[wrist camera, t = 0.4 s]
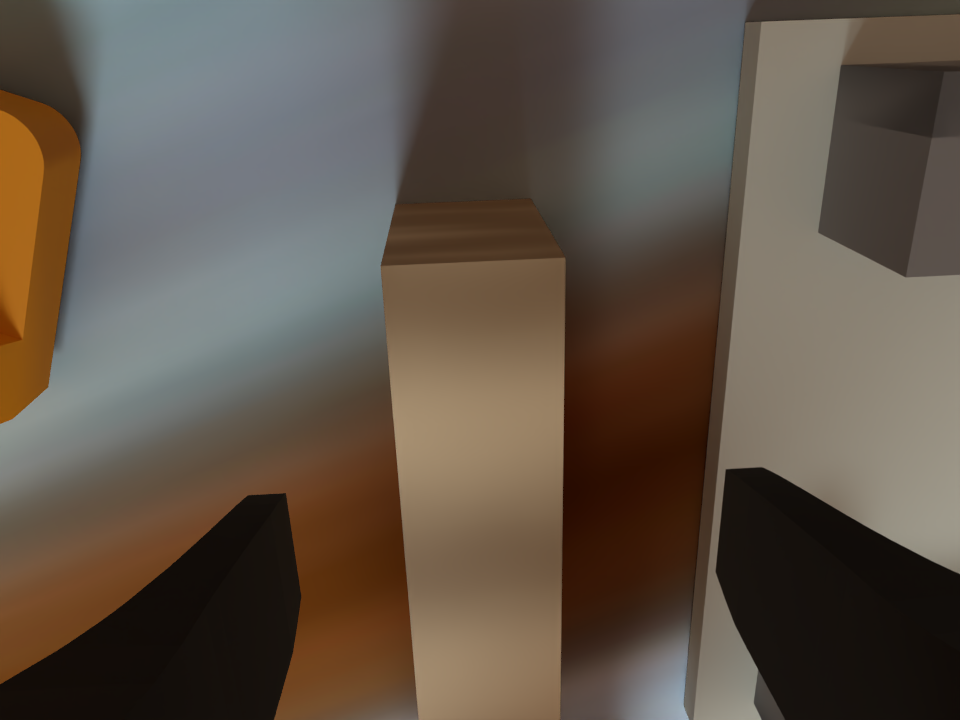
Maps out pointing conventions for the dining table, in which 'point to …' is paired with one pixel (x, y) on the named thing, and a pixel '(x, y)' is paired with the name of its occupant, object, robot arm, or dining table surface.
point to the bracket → (32, 242)
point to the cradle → (836, 303)
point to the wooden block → (479, 452)
